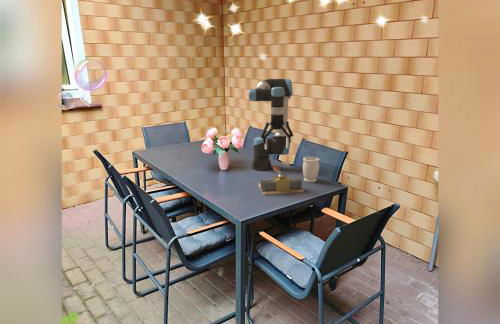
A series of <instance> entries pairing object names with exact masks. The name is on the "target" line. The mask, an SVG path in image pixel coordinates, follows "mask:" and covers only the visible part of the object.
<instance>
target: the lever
mask: <svg viewBox="0 0 500 324" xmlns="http://www.w3.org/2000/svg"><path fill="white" fill-rule="evenodd" d="M272 169H273V171H274V172H276V173H277V174H278V175H277V176H278V177H279V178H284V175H285V174H284V173H283V172H282V171H281V169H280V167H279V166H278V165H272Z"/></svg>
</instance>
